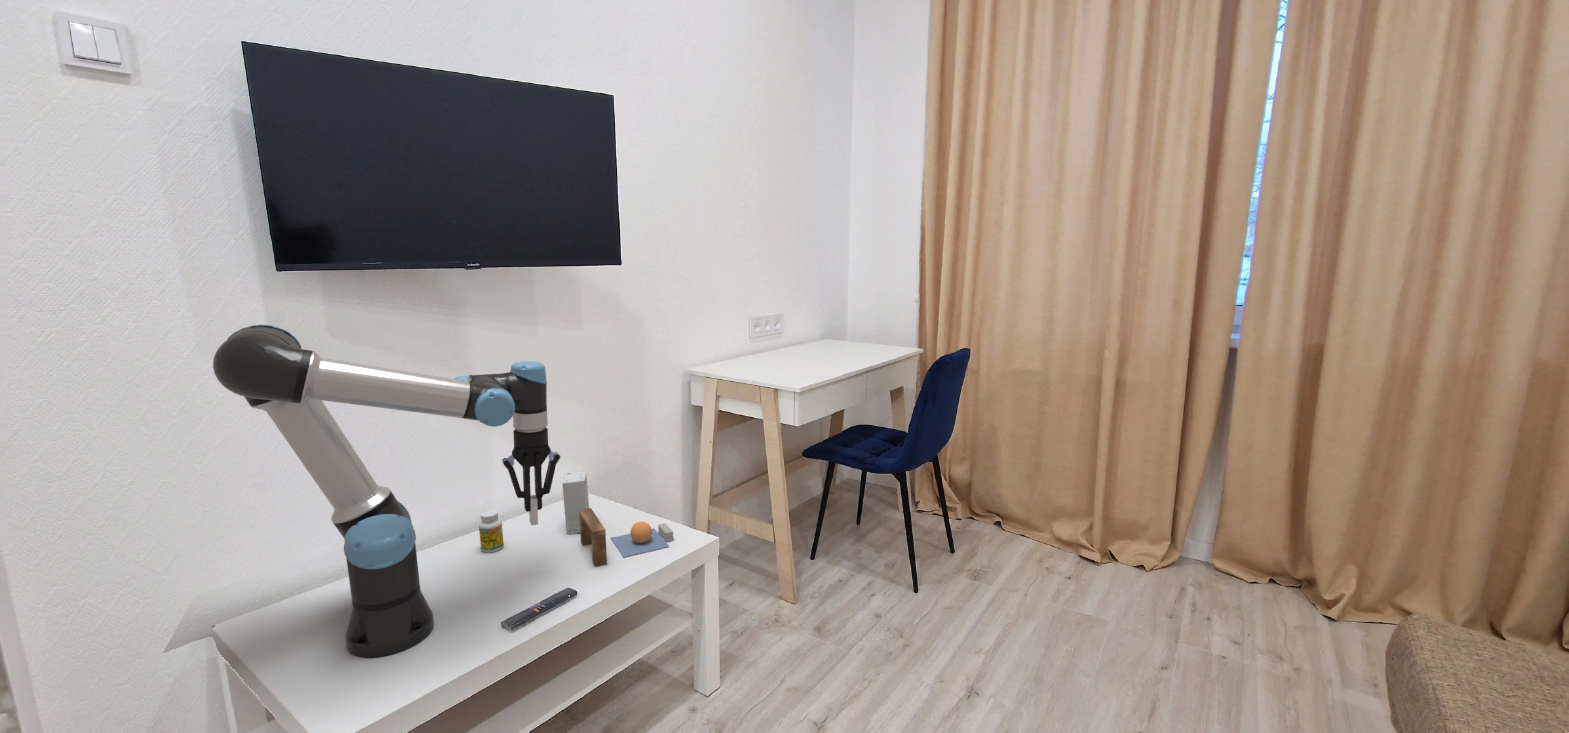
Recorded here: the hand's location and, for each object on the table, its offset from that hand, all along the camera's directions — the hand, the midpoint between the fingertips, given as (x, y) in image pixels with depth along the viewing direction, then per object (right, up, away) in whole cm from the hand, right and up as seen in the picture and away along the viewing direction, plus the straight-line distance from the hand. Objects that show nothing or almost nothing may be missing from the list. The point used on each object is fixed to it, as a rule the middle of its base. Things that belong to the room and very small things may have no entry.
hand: (533, 522), depth 158 cm
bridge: (+12, -10, +9) cm, 18 cm away
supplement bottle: (-15, -9, +11) cm, 21 cm away
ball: (+23, -6, +15) cm, 28 cm away
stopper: (+28, -8, +18) cm, 35 cm away
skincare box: (+3, -7, +23) cm, 25 cm away
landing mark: (+22, -9, +15) cm, 28 cm away
